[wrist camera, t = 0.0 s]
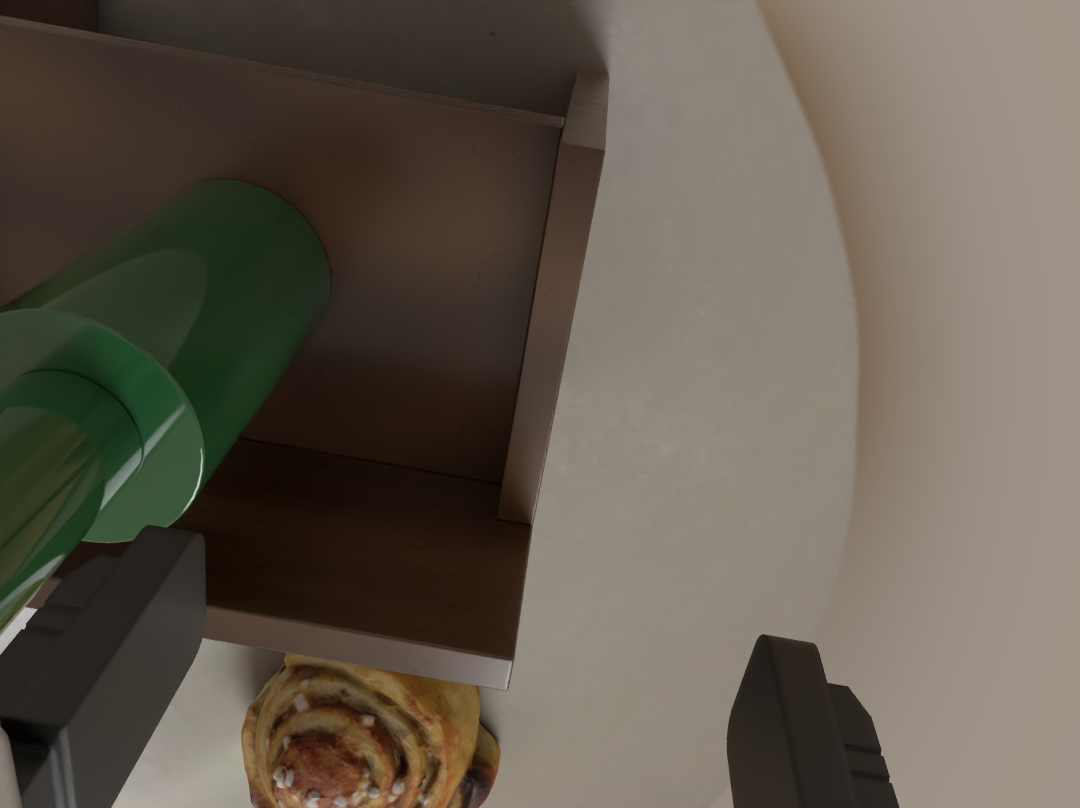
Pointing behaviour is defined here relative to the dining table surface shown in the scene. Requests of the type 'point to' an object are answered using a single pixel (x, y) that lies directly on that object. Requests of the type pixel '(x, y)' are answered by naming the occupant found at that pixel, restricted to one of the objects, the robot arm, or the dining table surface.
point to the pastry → (365, 740)
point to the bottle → (145, 370)
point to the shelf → (337, 324)
